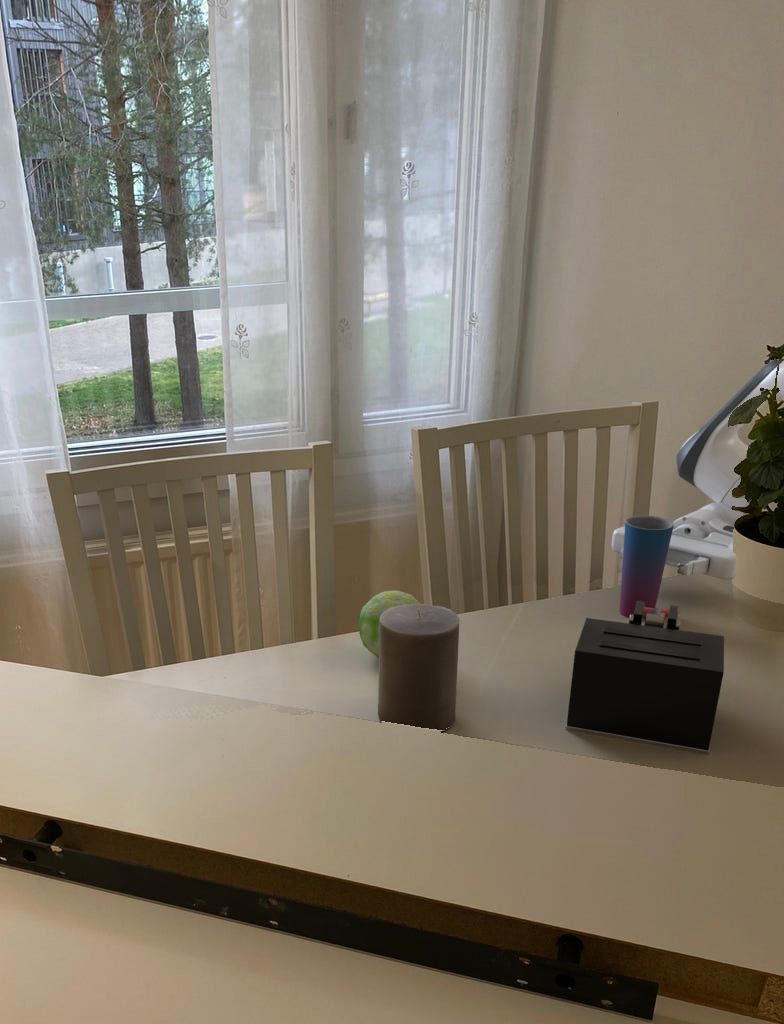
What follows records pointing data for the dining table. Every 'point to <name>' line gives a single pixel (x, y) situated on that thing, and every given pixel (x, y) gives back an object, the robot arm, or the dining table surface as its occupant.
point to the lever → (655, 617)
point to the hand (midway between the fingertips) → (652, 562)
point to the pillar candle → (418, 666)
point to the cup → (643, 561)
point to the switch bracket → (639, 611)
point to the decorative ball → (372, 613)
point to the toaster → (646, 684)
